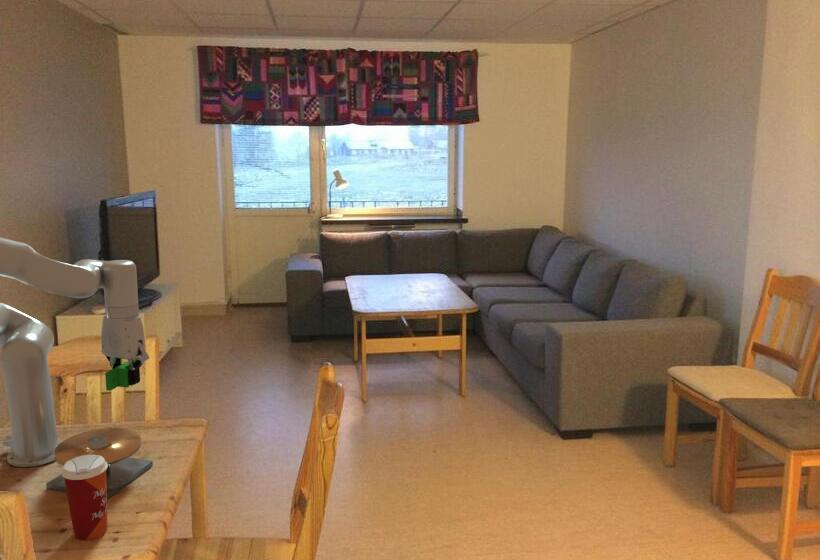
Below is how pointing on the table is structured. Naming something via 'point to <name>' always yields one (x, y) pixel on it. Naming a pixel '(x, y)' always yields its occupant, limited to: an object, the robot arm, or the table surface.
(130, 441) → the bronze disc on slab
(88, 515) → the coffee cup
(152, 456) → the table surface
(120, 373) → the pipe clamp
